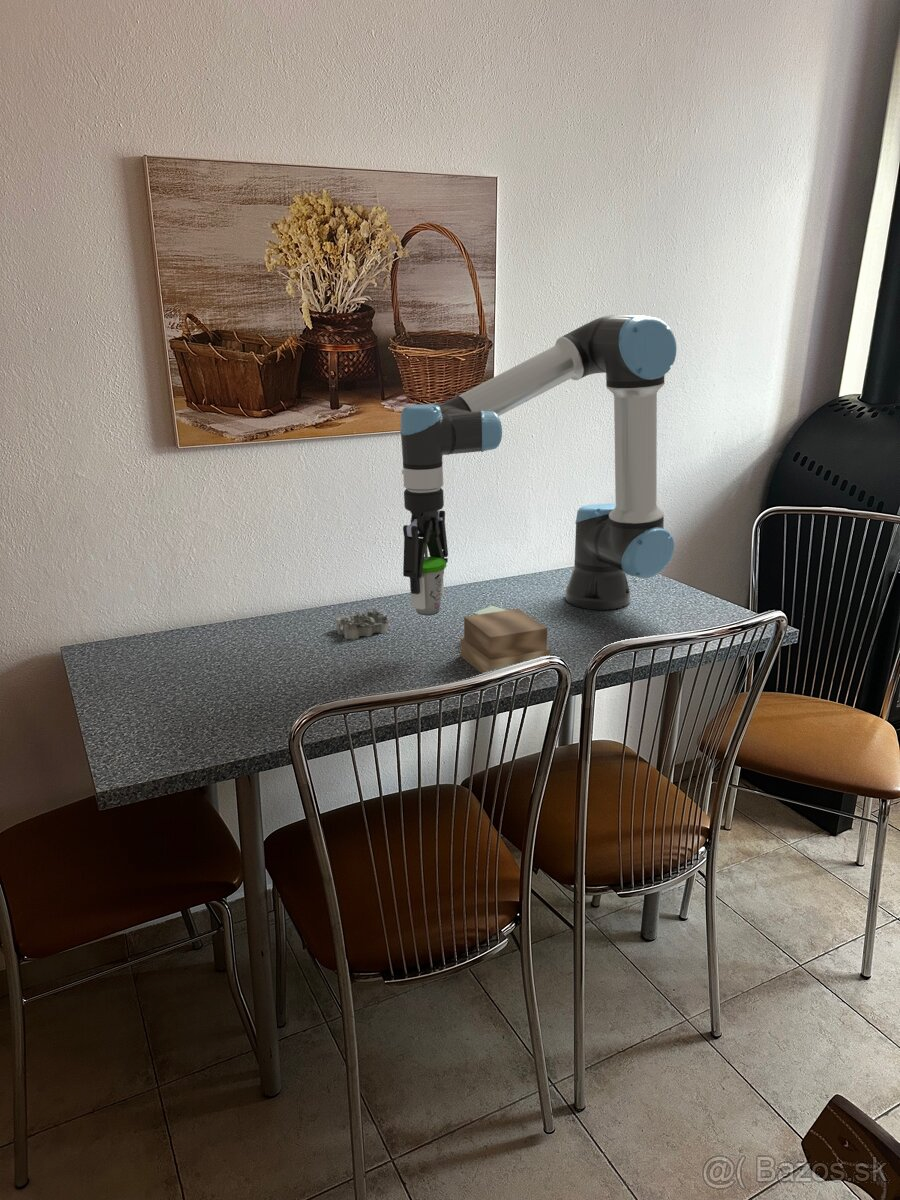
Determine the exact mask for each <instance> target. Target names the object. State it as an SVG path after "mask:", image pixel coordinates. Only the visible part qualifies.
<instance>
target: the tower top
mask: <svg viewBox="0 0 900 1200" xmlns="http://www.w3.org/2000/svg"><path fill="white" fill-rule="evenodd" d="M463 627H464V628H463V637H464V638H465V639H466V640H467V641H468V642H470V643H471V644H472V645H473V646H474V647H476V648H477V649H478V650H479V651H481V652H482V653H483V654H484V655H485V656H487V657H488V658H489V659H490V660H492V659H498V658H503V657H509V656H515V655H520V654H526V653H531V652H537V651H542V650H547V648H548V646H547V644H548V627H546V626H545V625H544V624H542V623H541V622H539V621H538V620H536V619H534V618H533V617H531V616H530V615H529V614H527V613H526V612H524V611H522V610H520V608H513V609H505V611H499V612H492V613H486V614H480V615H473V614H472V615H468V616H467V615H466V616H464V617H463Z"/></svg>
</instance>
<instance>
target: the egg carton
mask: <svg viewBox="0 0 900 1200" xmlns="http://www.w3.org/2000/svg"><path fill="white" fill-rule="evenodd" d="M389 622H391V619H388V618H387V615H384V613H382V612H381V611H379V610H378V609H377V608H375V607H374V608H373V609H370V610H368V611H363V612H357V613H353V614H350V615H339V616H338V617H336V619H335V620H334V623H336V624H337V625H336V627H337V629H336V630H337V631H336V632H337V634H338V635H344V639H345V640H358V639H359V638H360V637H363V636H364V637H366V636H367V637H371V636H373V634H376V633H381V634H383V633H387V630H389V627H388V625H389Z"/></svg>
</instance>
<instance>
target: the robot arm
mask: <svg viewBox="0 0 900 1200" xmlns="http://www.w3.org/2000/svg"><path fill="white" fill-rule="evenodd" d="M676 357H677V341H676V338H675V334H674V332H673V330H672V329H671V327H670V326H669V325H668V324H667V323H666V322H665V321H664V320H661V318H657V317H654V316H653V317H652V316H647V315H645V314H644V315H643V314H642V315H640V314H638V315H637V314H636V315H617V314H616V315H615V314H613V315H612V314H611V315H604V316H601V317H598V318H595V319H593V320H591V321H589V322H587V323H585V324H583V325H581V326H579V327H578V328H575V329H574V330H572V331H570V332H568V333H565V335H562V336H560V337H558V339H556V341H555V345H554V346H552V347H550V348H548V349H546V350H544V351H542V352H541V353H538V354H536V355H534V356H532V357H530V358H528V359H527V360H525V361H523V362H521V363H518V364H516V365H515V366H513V367H511V368H509V369H508V370H505V371H503V372H501V373H500V374H497V375H496V376H494V377H492V378H490V379H488V380H485V381H484V382H482V383H481V384H478V385H476V386H475V387H472V388H471V389H469V390H467V391H465V392H463V393H461V394H459V395H457V396H455V397H452V398H451V399H448V400H447V401H445V402H434V403H429V404H428V403H427V404H424V403H423V404H410V405H406V406H405V407H403V408H402V410H401V412H400V430H399V432H400V439H401V440H400V441H401V453H402V467H403V468H402V470H401V471H402V472H401V474H402V475H403V488H405V490H404V491H403V499H404V500H403V501H404V502H403V503H404V504H403V505H404V509H405V510H406V511H408V512H410V513H411V517H410V524H409V525H406V524H404V525H403V527H402V531H403V540H404V541H403V567H402V569H403V570H402V572H403V573H402V574H403V575H402V576H403V577H405V578H406V577H407V578H409V586H410V608H411V609H415V610H416V609H425V586H424V576H422V569H423V562H424V557H425V548H426V543H427V551H428V553H429V554H428V555H429V557H438V558H442V559H444V560H445V561H446V564H447V563H448V561H449V558H448V557H449V550H448V549H449V548H448V541H447V540H448V539H447V531H446V522H445V521H446V512H445V510H442V509H443V508H444V506H445V505H444V499H445V498H444V489H443V488H442V487H443V486H444V473H443V472H444V471H443V470H444V469H443V468H444V466H443V456H448V455H455V454H456V455H457V454H466V453H467V454H469V453H476V452H477V453H478V452H480V453H483V452H486V451H491V450H495V449H497V448H498V447H499V446H500V444H501V442H502V437H503V426H502V422H501V419H500V417H499V416H502V415H503V414H505V413H507V412H509V411H511V410H513V409H515V408H517V407H519V406H521V405H523V404H524V403H526V402H529V401H530V400H532V399H535V398H536V397H538V396H540V395H541V394H544V393H546V392H548V391H549V390H551V389H553V388H555V387H557V386H560V385H561V384H562V383H565V382H567V381H568V380H573V381H579V380H581V379H583V378H585V377H587V376H590V375H593V374H603V373H604V374H605V381H606V382H605V385H606V389H607V390H608V391H610V393H612V395H613V406H614V407H613V410H614V412H613V418H614V479H615V482H614V483H615V484H614V485H615V489H614V490H615V491H614V493H615V494H614V495H615V503H592V504H587V505H583V506H581V507H579V508H578V510H577V512H576V519H575V543H574V545H575V546H574V568H573V570H572V573H571V576H570V578H569V581H568V584H567V586H566V589H565V600H566V602H568V604H571V605H572V606H575V607H577V608H580V609H581V608H583V609H587V610H594V611H595V610H596V611H599V610H600V611H605V610H607V611H609V609H611V610H617V609H616V608H618V609H621V608H624V607H627V606H628V605H629V604H630V602H631V590H630V587H629V583H628V579H627V576H626V575H628V576H630V577H635V578H639V579H649V578H653V577H655V576H657V575H659V574H660V573H661V572H663V571H664V570H665V567H666V566H668V565H669V564H670V562H671V560H672V558H673V556H674V552H675V540H674V537H673V536H672V534H671V533H670V531H668V529H665V528H664V527H665V526H664V517H665V516H664V511H662V509H661V508H660V507H659V506H658V504H657V492H658V491H657V490H658V489H657V488H658V487H657V482H658V481H657V476H658V475H657V470H658V469H657V467H658V466H657V459H658V458H657V457H658V456H657V452H658V451H657V448H658V447H657V445H658V444H657V442H658V440H657V435H658V434H657V433H658V431H657V429H658V428H657V427H658V425H657V423H658V422H657V421H658V419H657V418H658V417H657V412H658V408H657V407H658V405H657V403H658V399H657V395H658V392H659V390H660V389H661V388H662V387H663V386H665V375H667V374H668V372H669V371H670V370H671V366H672V365H674V363H675V361H676ZM444 586H445V585H444V583H443V585H442V594H441V597H442V596H444V594H445V591H444ZM623 606H624V607H623Z"/></svg>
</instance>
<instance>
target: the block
mask: <svg viewBox="0 0 900 1200" xmlns="http://www.w3.org/2000/svg"><path fill="white" fill-rule="evenodd" d="M505 610H506V609H504V608H501V607H498V606H495V605H490V606H488V607H485V608H483V609H480V610H477V611H474V612H473V613H472V616H473V615H480V614H486V613H492V612H499V611H505Z"/></svg>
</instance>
